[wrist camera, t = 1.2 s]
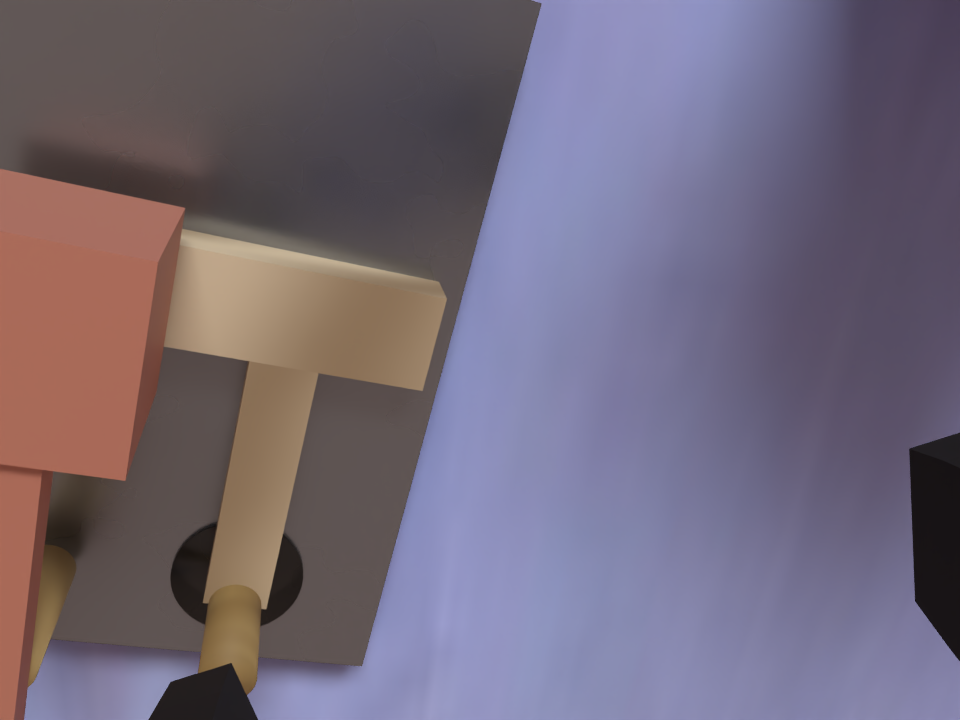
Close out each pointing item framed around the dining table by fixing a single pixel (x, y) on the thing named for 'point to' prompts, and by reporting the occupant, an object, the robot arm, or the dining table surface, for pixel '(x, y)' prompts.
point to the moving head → (69, 378)
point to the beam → (283, 392)
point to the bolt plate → (274, 223)
